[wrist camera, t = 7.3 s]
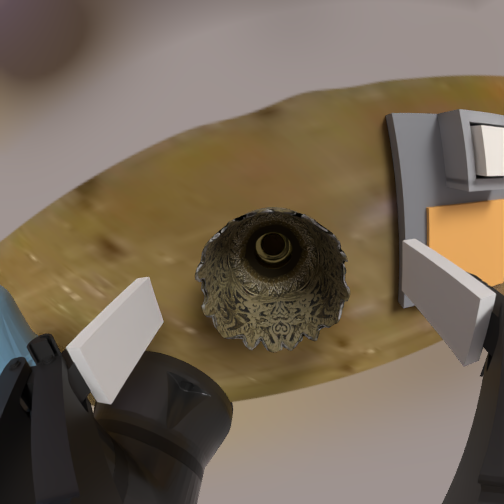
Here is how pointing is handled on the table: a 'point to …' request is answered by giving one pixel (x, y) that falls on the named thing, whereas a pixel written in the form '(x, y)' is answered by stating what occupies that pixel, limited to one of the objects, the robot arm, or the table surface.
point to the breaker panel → (447, 192)
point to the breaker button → (488, 150)
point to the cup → (273, 279)
